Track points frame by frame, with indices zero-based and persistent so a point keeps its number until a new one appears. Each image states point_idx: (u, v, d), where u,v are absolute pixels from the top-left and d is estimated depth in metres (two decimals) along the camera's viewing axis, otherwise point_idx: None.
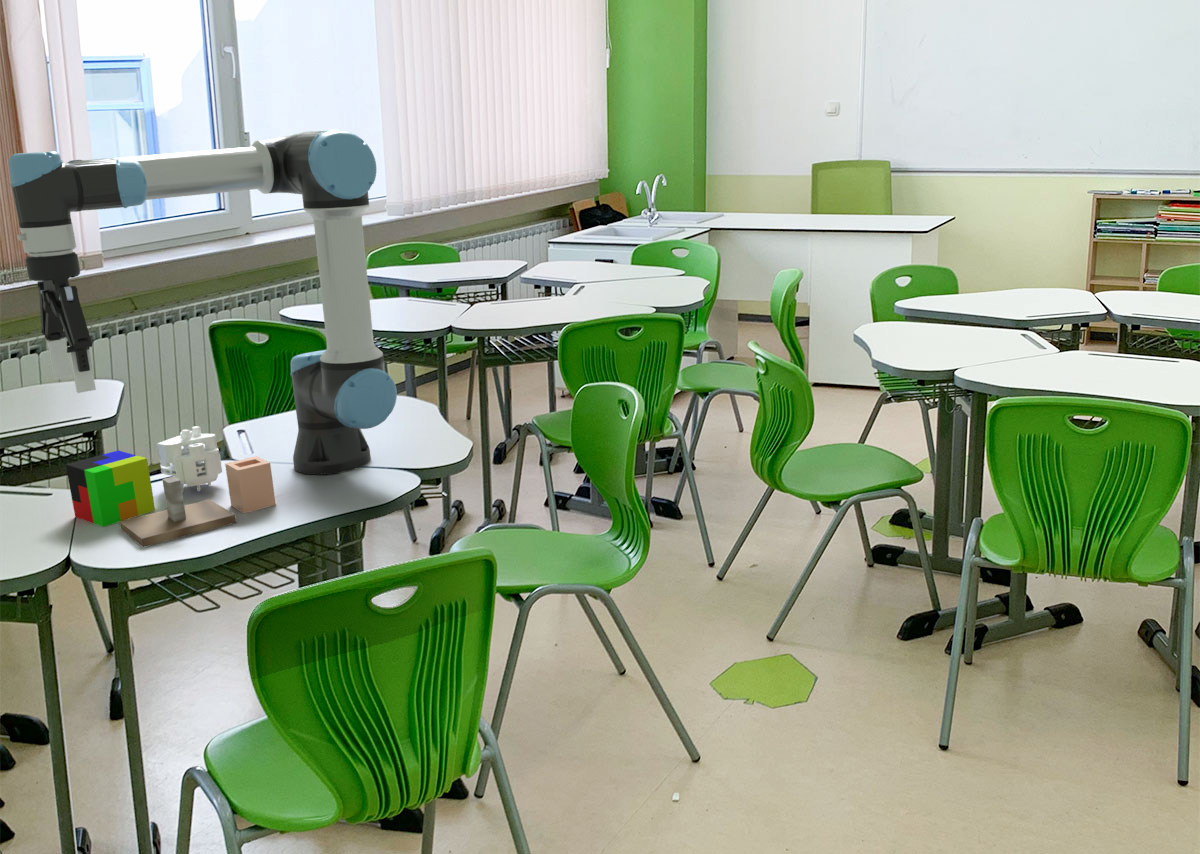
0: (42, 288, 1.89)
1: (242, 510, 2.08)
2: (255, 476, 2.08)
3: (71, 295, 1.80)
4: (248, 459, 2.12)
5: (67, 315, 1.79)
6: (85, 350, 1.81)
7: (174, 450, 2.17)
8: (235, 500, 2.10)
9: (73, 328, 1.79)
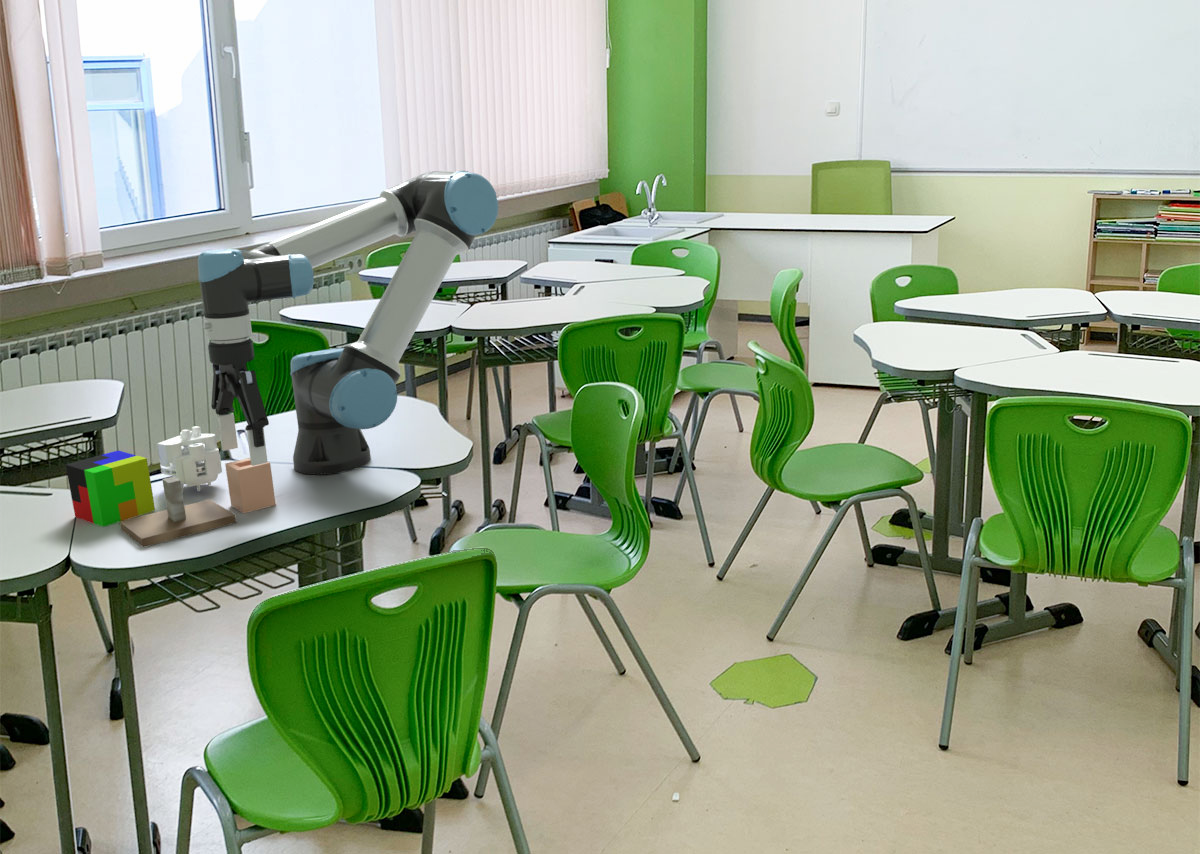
0: (217, 369, 2.09)
1: (242, 510, 2.08)
2: (255, 476, 2.08)
3: (251, 379, 2.00)
4: (248, 459, 2.12)
5: (247, 397, 2.00)
6: (261, 428, 2.01)
7: (174, 450, 2.17)
8: (235, 500, 2.10)
9: (253, 409, 1.99)
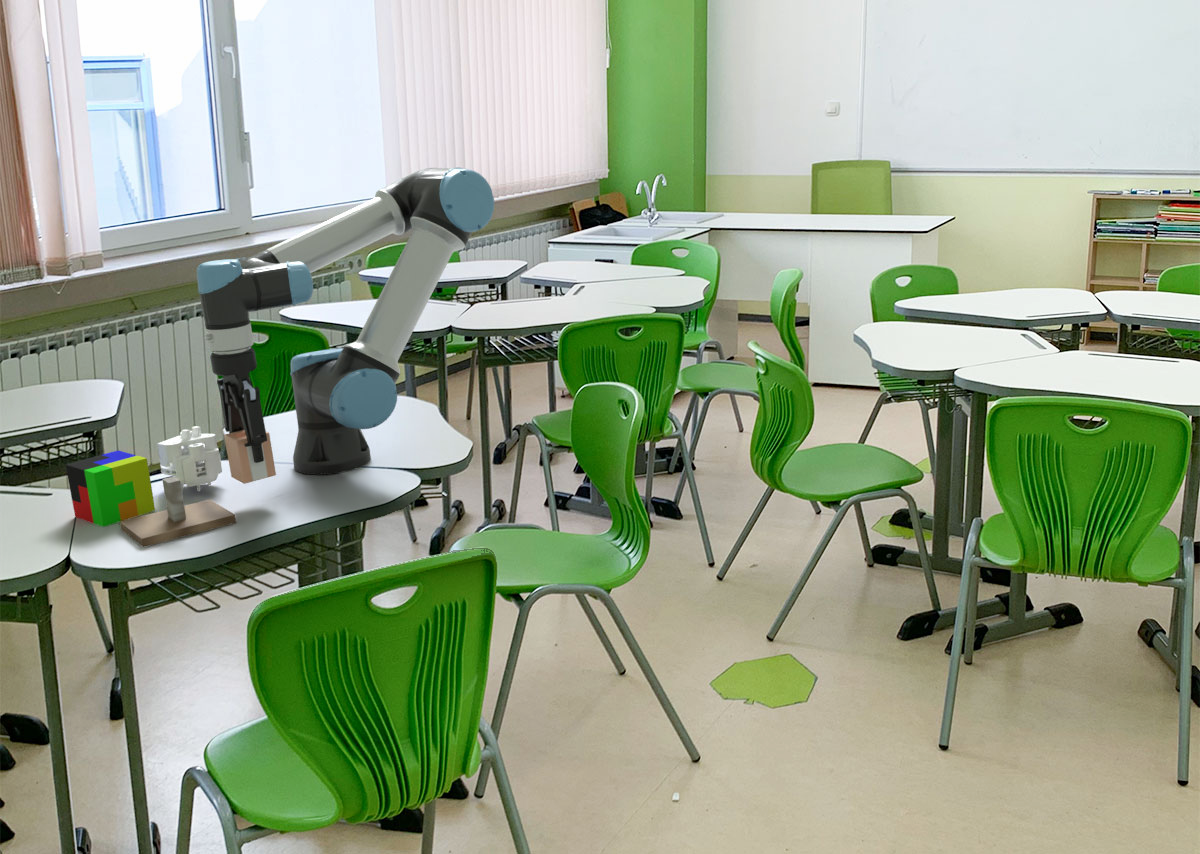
0: (221, 384, 2.10)
1: (242, 481, 2.07)
2: None
3: (254, 396, 2.02)
4: None
5: (249, 414, 2.02)
6: (260, 444, 2.05)
7: (174, 450, 2.17)
8: (235, 471, 2.09)
9: (253, 426, 2.03)
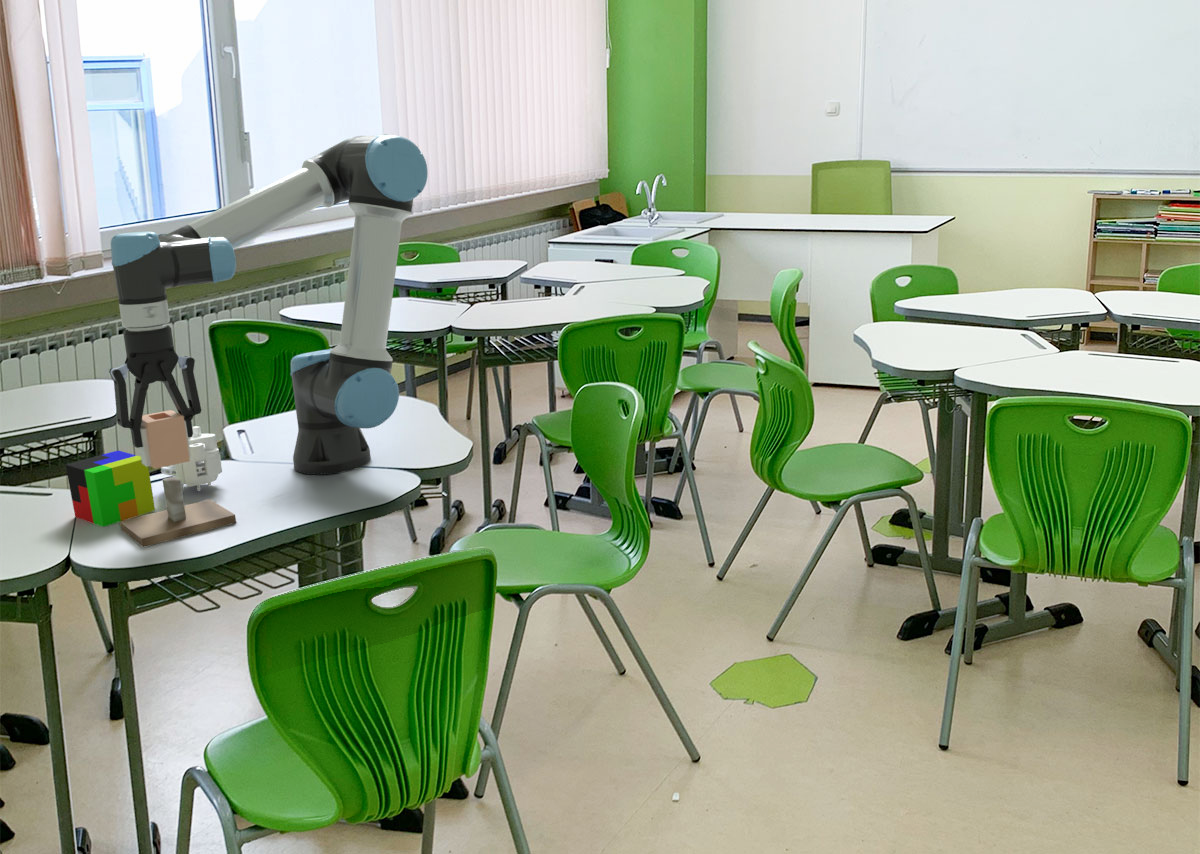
0: None
1: (186, 459, 1.99)
2: None
3: None
4: (144, 417, 1.97)
5: (195, 383, 1.99)
6: None
7: None
8: (168, 456, 1.97)
9: None
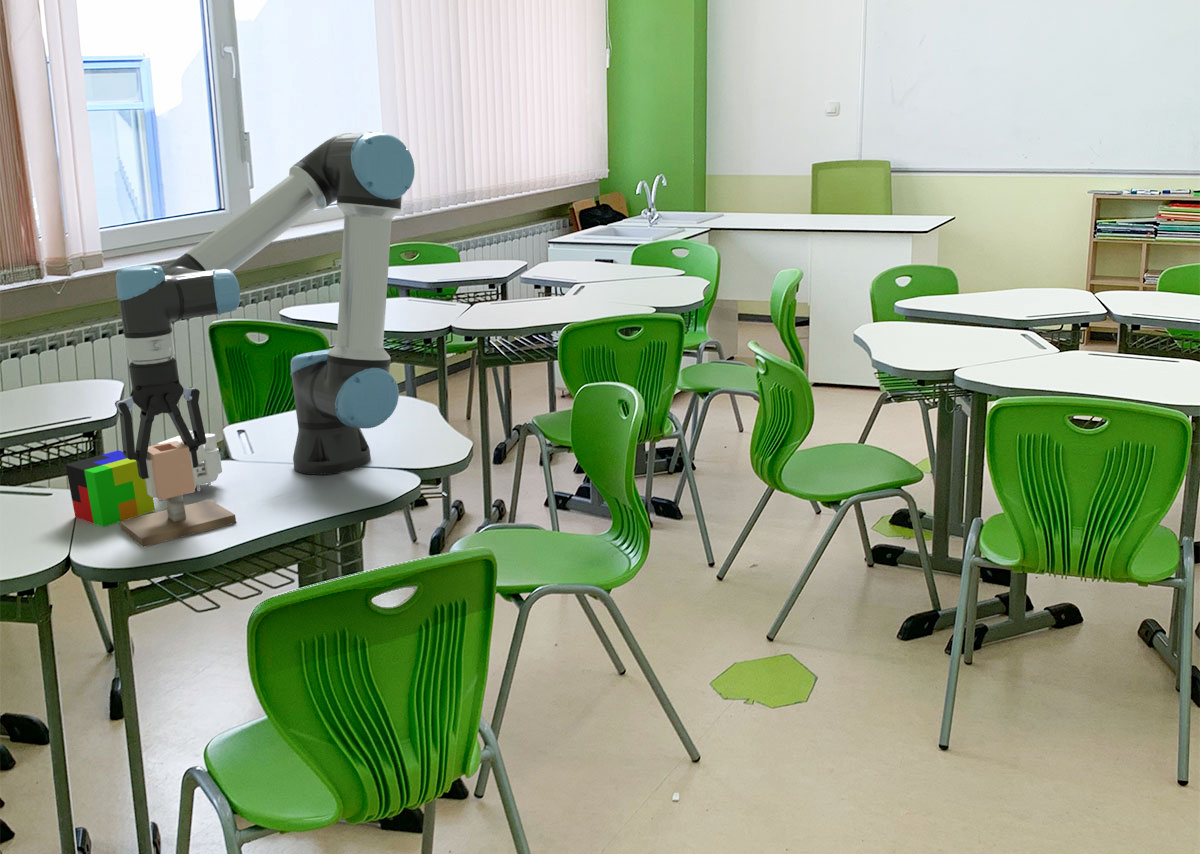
0: None
1: (191, 490, 2.01)
2: None
3: None
4: (150, 449, 1.99)
5: (200, 414, 2.01)
6: None
7: None
8: (174, 487, 1.99)
9: None
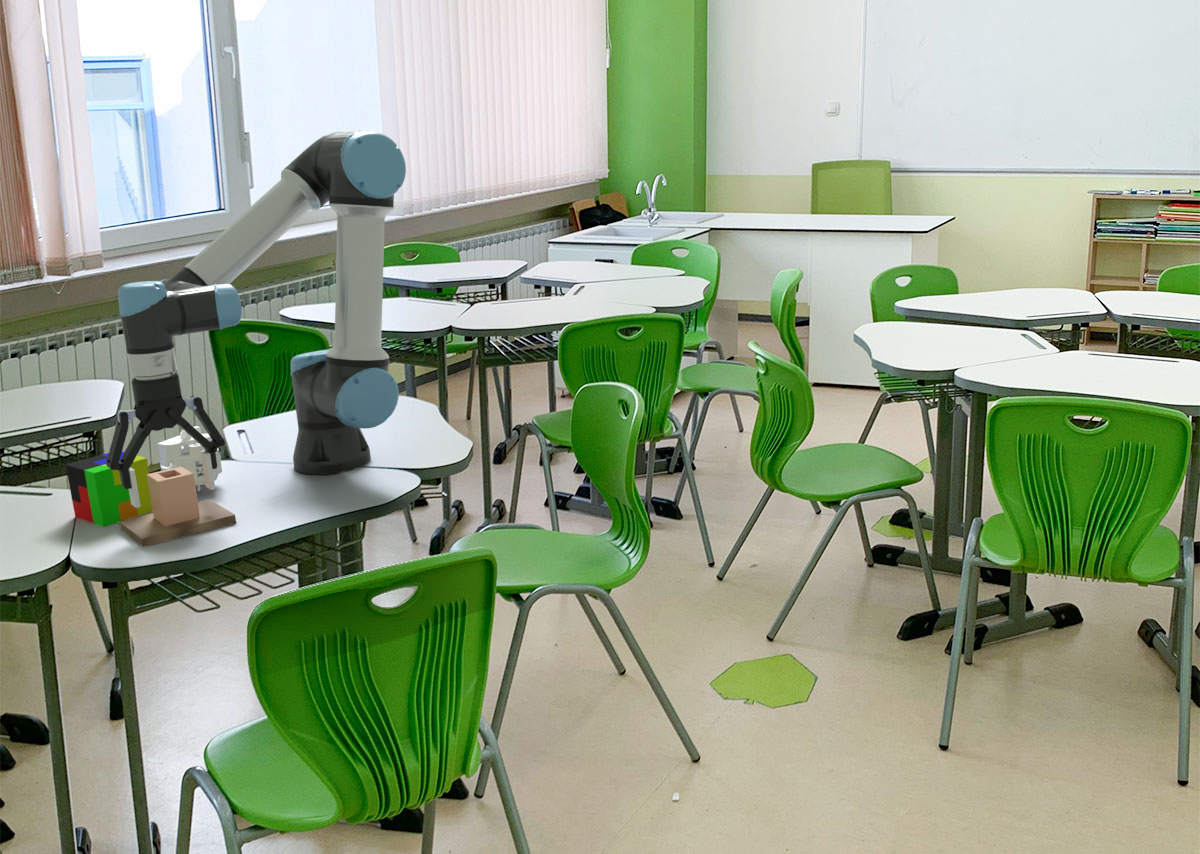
0: (127, 417, 1.94)
1: (196, 516, 2.02)
2: None
3: None
4: (155, 475, 2.00)
5: (210, 419, 2.02)
6: None
7: (174, 450, 2.17)
8: (179, 513, 2.00)
9: None
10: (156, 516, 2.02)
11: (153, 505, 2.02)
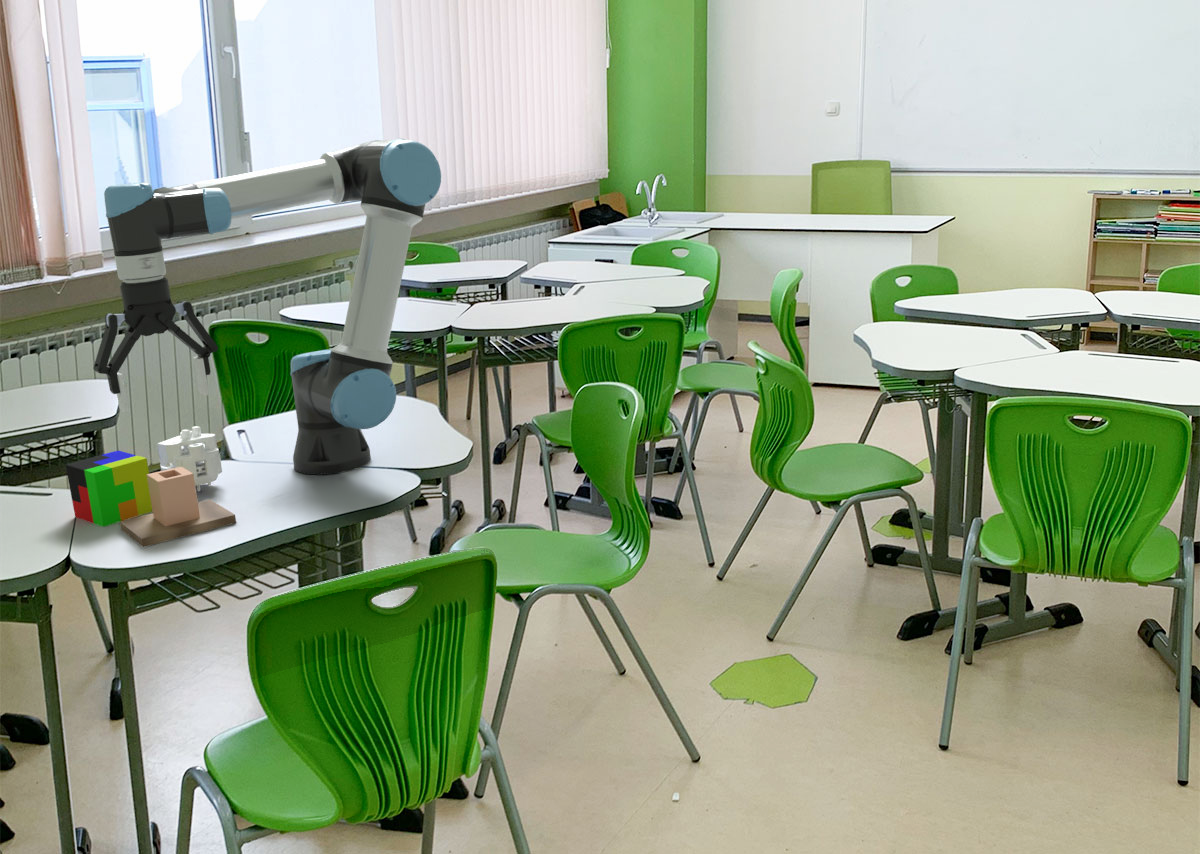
0: (116, 320, 1.91)
1: (196, 516, 2.02)
2: None
3: None
4: (155, 475, 2.00)
5: (201, 324, 2.00)
6: None
7: (174, 450, 2.17)
8: (179, 513, 2.00)
9: None
10: (156, 516, 2.02)
11: (153, 505, 2.02)
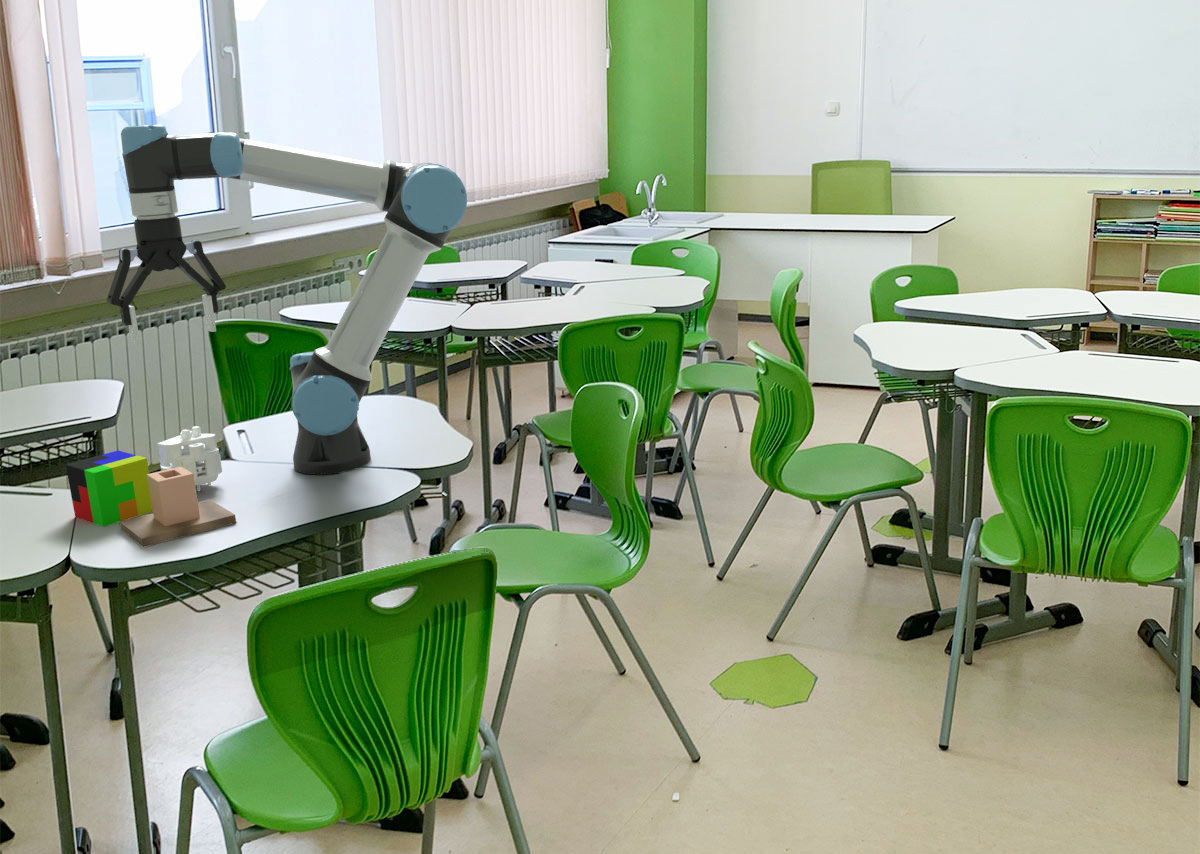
0: (129, 255, 2.01)
1: (196, 516, 2.02)
2: None
3: None
4: (155, 475, 2.00)
5: None
6: None
7: (174, 450, 2.17)
8: (179, 513, 2.00)
9: None
10: (156, 516, 2.02)
11: (153, 505, 2.02)
